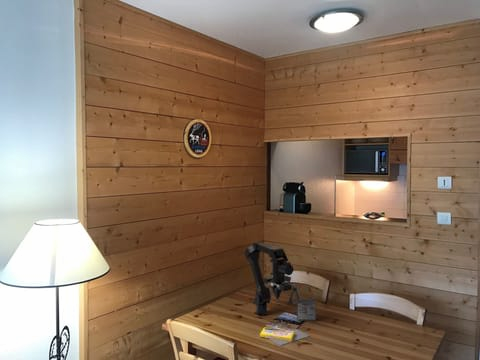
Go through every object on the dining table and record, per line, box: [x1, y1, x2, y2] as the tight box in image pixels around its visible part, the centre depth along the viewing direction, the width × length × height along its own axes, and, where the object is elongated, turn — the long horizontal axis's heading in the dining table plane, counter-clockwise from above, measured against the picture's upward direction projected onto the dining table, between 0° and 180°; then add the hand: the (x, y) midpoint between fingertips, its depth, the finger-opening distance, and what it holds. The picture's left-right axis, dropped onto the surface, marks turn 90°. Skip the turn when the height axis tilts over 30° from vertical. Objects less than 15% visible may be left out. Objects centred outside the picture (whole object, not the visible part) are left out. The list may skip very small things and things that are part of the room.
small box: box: [296, 298, 317, 322], centre depth 217 cm, size 11×6×10 cm, turn 84°
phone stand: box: [287, 283, 303, 306], centre depth 241 cm, size 9×6×12 cm, turn 72°
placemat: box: [267, 328, 310, 347], centre depth 193 cm, size 10×19×1 cm, turn 123°
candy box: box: [259, 326, 295, 341], centre depth 194 cm, size 16×2×8 cm
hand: (277, 299), depth 211 cm, fingers closed
